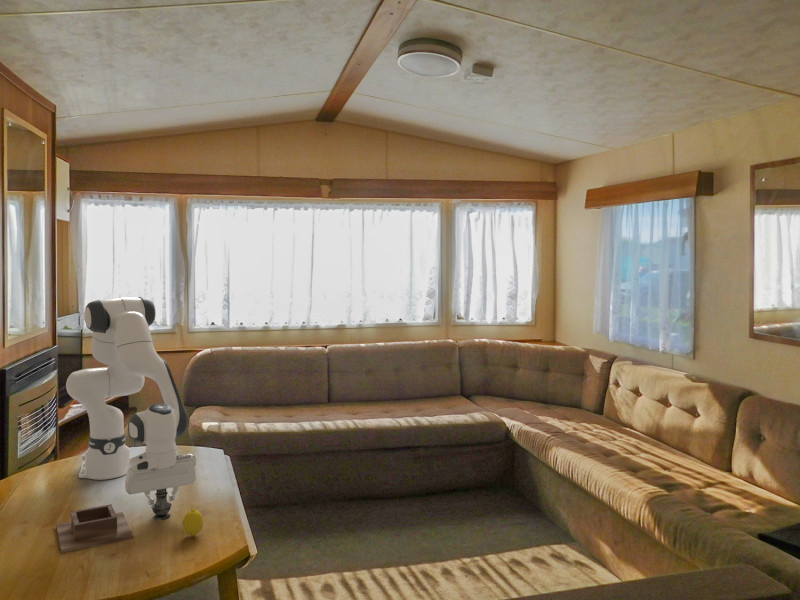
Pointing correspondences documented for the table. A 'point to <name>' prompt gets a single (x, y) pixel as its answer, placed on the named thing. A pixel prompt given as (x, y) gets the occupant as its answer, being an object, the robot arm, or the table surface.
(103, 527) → the caddy
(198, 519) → the lemon
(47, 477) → the table surface
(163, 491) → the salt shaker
